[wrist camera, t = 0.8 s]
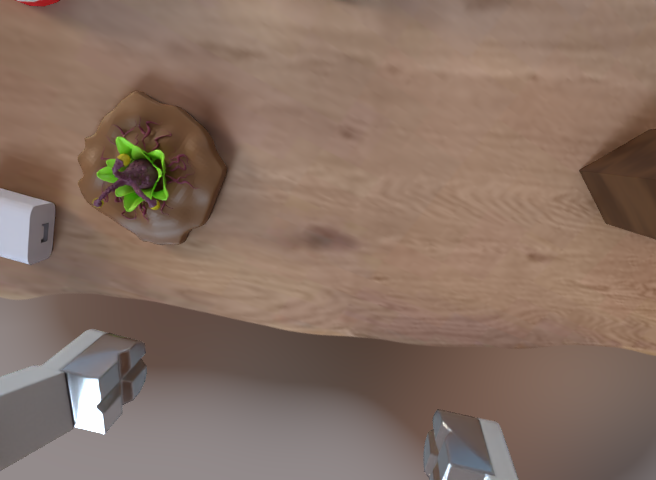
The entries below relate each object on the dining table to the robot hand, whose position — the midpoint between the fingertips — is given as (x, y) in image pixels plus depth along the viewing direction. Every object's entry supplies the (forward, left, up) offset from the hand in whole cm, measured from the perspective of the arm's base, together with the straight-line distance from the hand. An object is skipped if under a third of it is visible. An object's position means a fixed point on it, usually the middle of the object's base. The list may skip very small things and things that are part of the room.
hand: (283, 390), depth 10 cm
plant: (+1, -27, -46) cm, 53 cm away
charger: (+11, -51, -46) cm, 69 cm away
